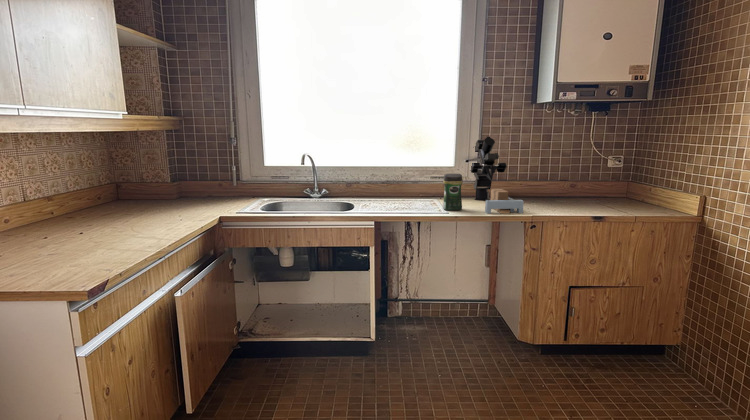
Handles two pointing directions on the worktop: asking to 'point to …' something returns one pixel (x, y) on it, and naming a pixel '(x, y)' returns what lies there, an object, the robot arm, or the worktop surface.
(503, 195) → the tan stepped block
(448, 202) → the coffee jar
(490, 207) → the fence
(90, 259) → the worktop surface
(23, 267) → the worktop surface
